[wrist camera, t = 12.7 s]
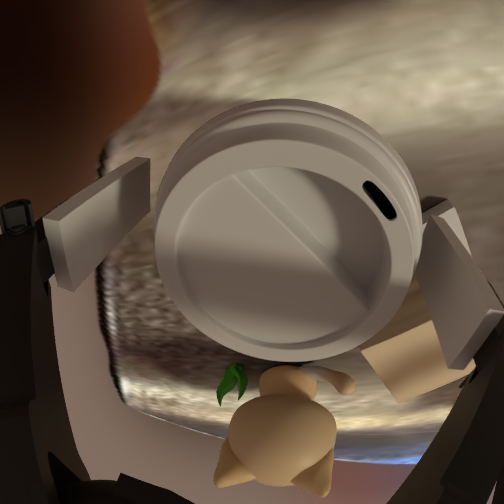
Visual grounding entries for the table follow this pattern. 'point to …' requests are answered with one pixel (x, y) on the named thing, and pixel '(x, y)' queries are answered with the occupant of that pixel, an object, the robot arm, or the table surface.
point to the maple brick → (410, 351)
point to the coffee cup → (287, 230)
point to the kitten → (281, 429)
